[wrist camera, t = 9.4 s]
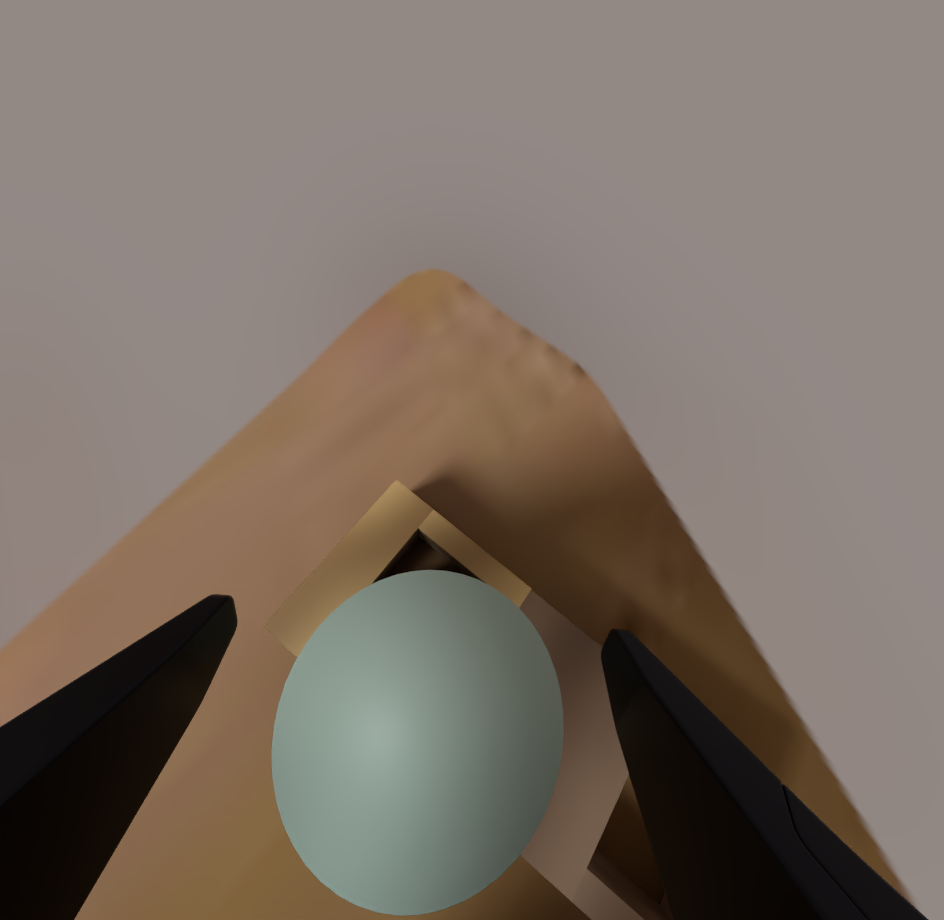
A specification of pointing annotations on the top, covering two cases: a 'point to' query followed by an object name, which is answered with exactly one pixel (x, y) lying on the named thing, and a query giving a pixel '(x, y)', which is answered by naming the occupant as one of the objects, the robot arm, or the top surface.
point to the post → (417, 742)
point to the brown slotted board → (579, 676)
